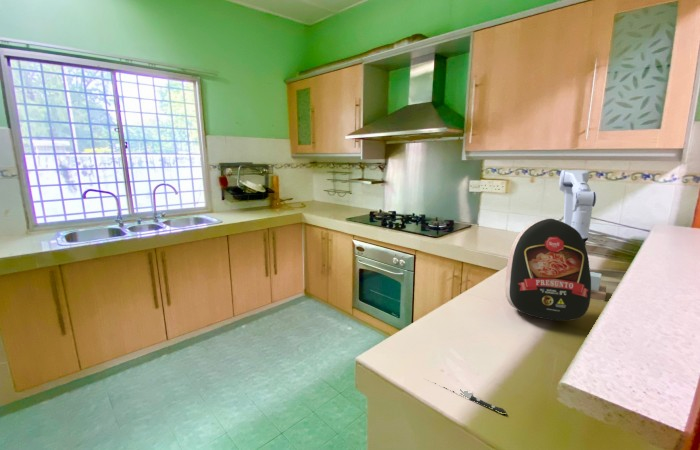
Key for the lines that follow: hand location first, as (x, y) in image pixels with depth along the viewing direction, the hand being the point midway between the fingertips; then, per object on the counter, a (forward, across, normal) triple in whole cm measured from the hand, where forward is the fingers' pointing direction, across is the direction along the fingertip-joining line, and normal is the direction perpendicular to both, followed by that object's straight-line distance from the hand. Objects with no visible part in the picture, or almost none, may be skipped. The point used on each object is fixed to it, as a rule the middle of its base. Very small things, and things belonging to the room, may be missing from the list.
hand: (575, 256), depth 123 cm
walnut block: (+11, -9, -6) cm, 15 cm away
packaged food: (+11, -37, +5) cm, 39 cm away
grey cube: (+8, -9, -6) cm, 13 cm away
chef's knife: (+11, -87, +12) cm, 88 cm away
